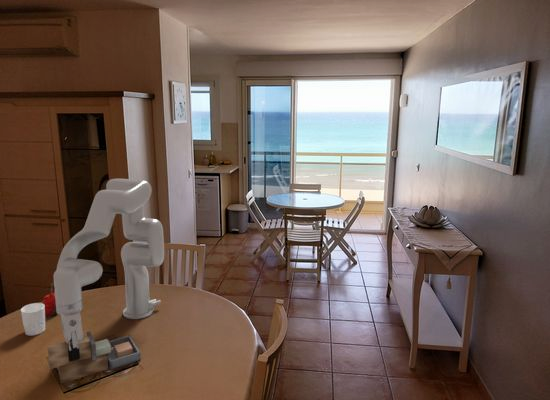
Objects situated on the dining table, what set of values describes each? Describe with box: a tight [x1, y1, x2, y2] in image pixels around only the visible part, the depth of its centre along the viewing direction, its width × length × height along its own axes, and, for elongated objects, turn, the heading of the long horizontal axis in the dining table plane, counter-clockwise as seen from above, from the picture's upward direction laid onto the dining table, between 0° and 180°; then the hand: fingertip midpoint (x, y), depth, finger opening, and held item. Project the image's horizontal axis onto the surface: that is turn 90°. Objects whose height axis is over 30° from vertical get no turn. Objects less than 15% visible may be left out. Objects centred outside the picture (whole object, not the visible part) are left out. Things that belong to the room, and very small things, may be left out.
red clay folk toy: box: [41, 281, 58, 317], centre depth 167 cm, size 8×7×15 cm
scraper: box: [47, 331, 97, 370], centre depth 131 cm, size 13×9×6 cm
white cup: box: [20, 302, 46, 336], centre depth 154 cm, size 8×8×10 cm
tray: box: [106, 335, 141, 371], centre depth 141 cm, size 10×13×3 cm
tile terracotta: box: [114, 342, 133, 358], centre depth 142 cm, size 5×5×2 cm
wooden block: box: [56, 354, 109, 384], centre depth 134 cm, size 14×11×4 cm
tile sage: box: [95, 338, 111, 356], centre depth 137 cm, size 5×5×2 cm
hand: (73, 356), depth 132 cm, fingers closed on scraper, 3 cm apart
